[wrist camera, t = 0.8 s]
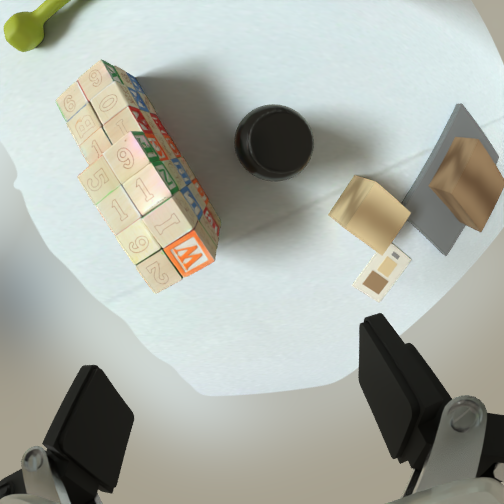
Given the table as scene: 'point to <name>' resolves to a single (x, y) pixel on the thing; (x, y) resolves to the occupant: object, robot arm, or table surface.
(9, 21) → the dumbbell
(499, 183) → the brick
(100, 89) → the stack of blocks
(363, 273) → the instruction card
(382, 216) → the oak brick
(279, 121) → the supplement bottle
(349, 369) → the table surface
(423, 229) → the board
